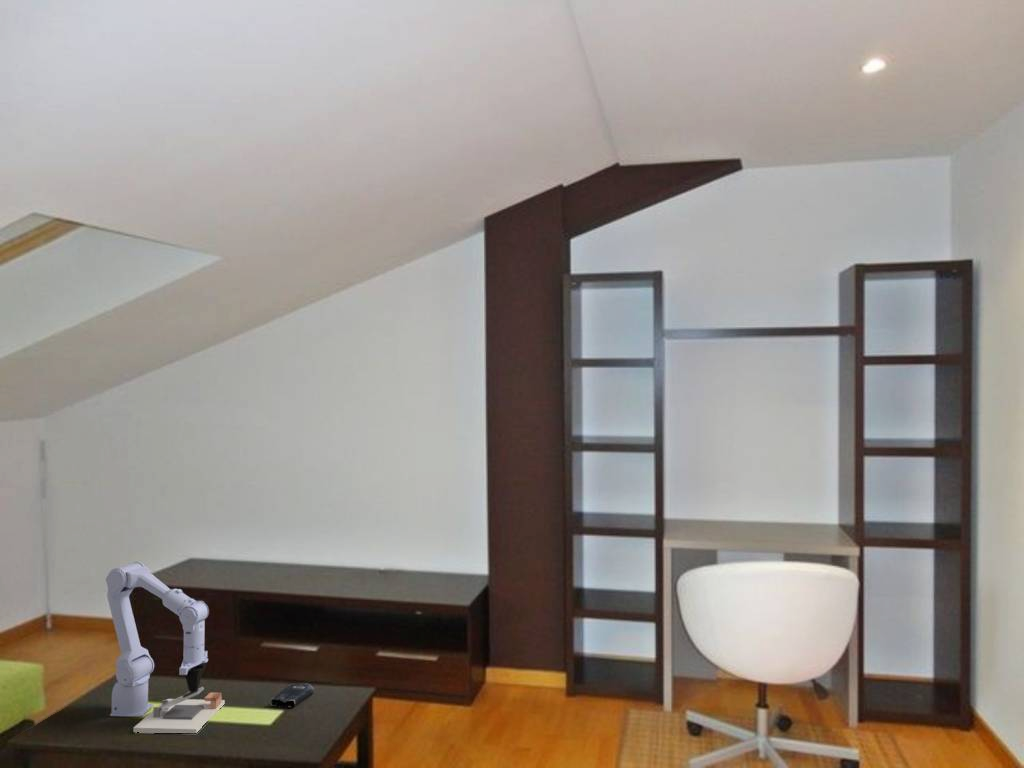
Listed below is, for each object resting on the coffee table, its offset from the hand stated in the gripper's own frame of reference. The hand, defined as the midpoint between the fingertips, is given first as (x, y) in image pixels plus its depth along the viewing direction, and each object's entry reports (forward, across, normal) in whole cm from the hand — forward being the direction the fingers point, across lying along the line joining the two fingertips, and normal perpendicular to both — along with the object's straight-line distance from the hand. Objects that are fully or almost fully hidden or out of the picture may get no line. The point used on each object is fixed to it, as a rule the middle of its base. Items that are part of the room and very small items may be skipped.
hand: (193, 690), depth 224 cm
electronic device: (+9, +16, -25) cm, 31 cm away
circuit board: (+8, 0, +4) cm, 9 cm away
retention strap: (+3, 0, +4) cm, 5 cm away
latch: (+7, +5, -4) cm, 9 cm away
